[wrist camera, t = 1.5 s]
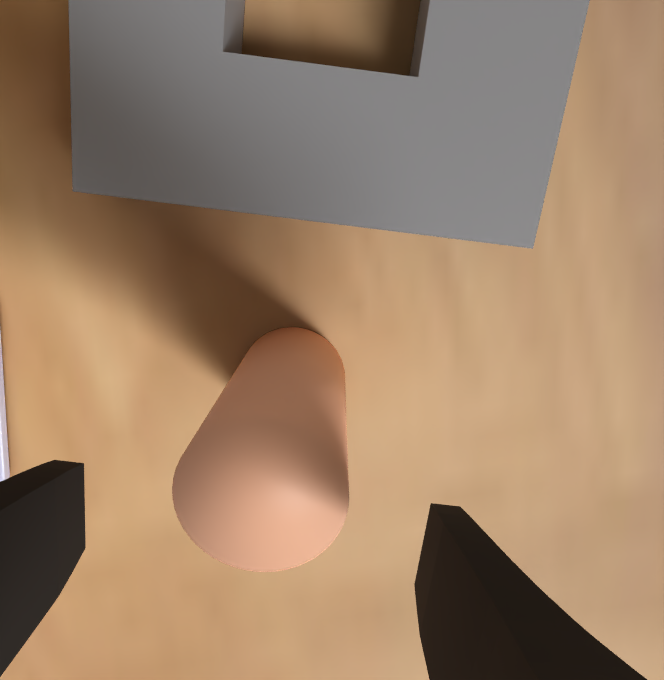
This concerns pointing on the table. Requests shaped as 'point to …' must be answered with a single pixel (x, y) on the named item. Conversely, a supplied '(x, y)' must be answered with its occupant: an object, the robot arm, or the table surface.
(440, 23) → the hole board
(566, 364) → the table surface
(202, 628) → the table surface
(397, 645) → the table surface
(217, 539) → the peg
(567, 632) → the robot arm
